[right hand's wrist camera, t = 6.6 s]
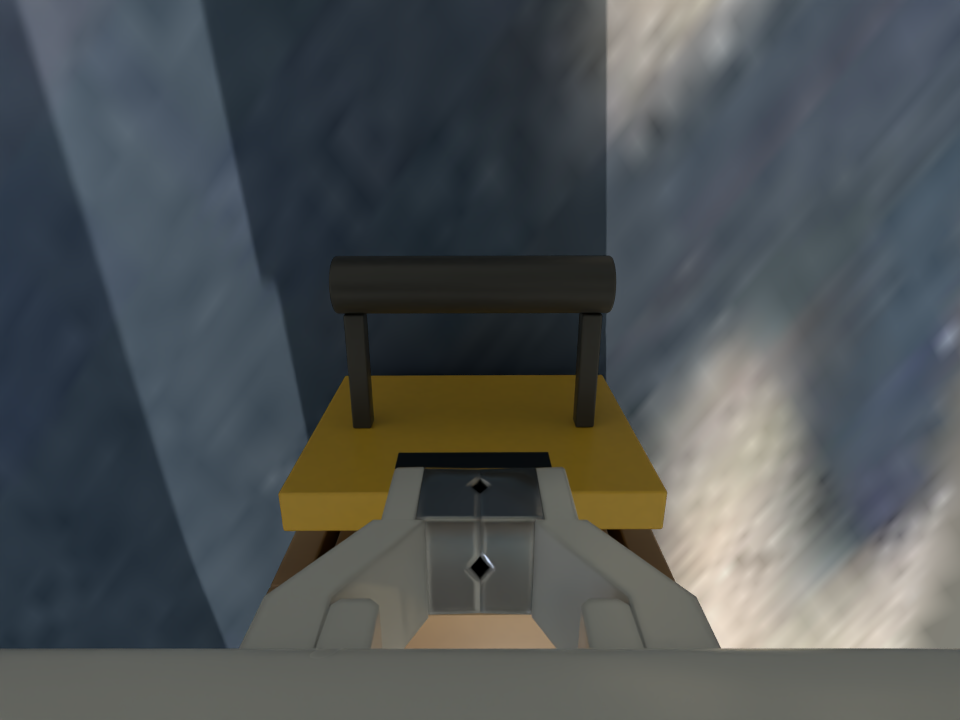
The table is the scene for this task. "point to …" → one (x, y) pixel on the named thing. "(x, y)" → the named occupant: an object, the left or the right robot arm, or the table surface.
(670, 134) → the table surface
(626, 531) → the wooden drawer cabinet
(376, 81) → the table surface
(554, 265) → the drawer
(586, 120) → the table surface
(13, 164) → the table surface
